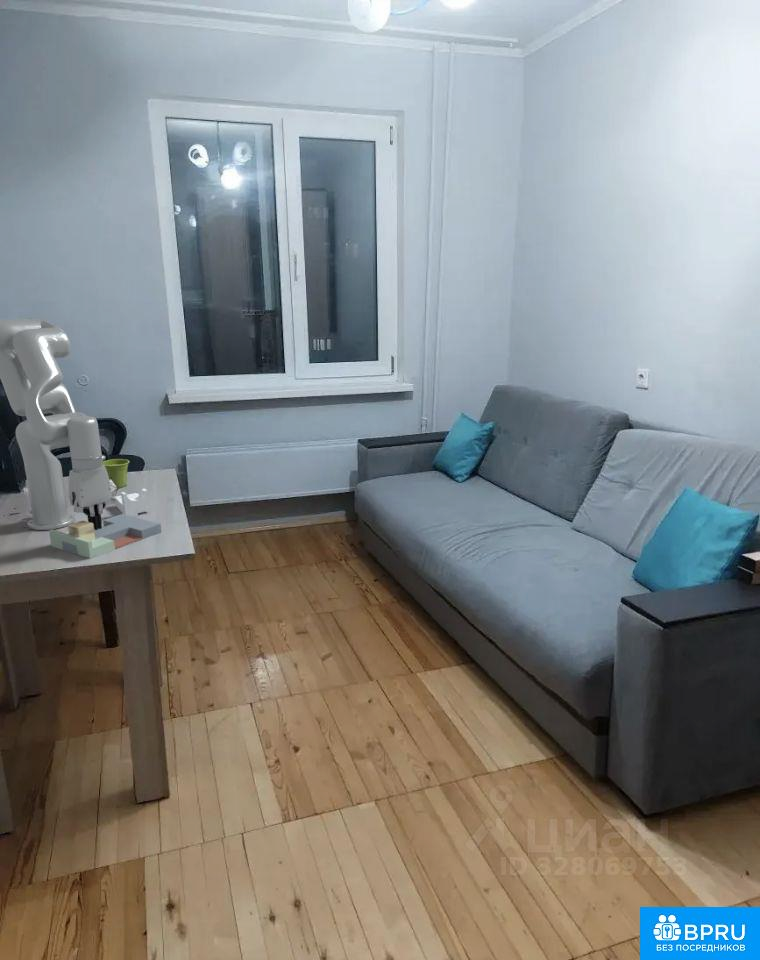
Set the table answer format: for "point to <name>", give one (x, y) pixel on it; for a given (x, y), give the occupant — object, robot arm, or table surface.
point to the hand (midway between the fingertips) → (95, 528)
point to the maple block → (82, 530)
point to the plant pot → (117, 471)
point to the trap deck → (106, 536)
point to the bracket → (132, 503)
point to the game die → (113, 489)
